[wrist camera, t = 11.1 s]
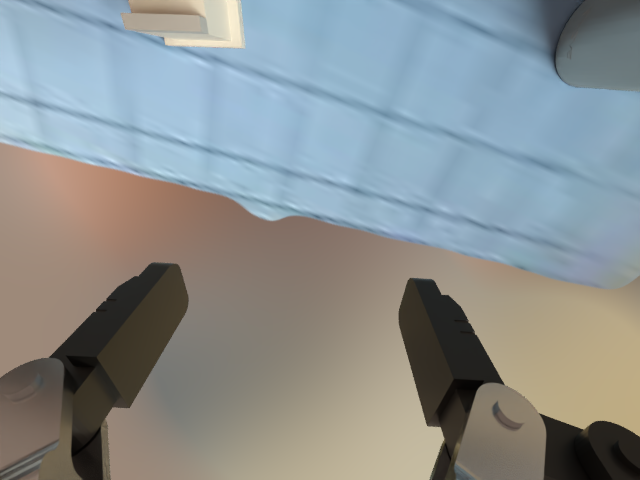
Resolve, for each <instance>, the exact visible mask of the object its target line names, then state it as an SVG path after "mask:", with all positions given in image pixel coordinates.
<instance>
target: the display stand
mask: <svg viewBox="0 0 640 480" xmlns="http://www.w3.org/2000/svg"><path fill="white" fill-rule="evenodd" d="M128 1H129V5H130V8H131V12H132V13H121V16H122V19H123V23H124V26H125V29H127V30H131V31H136V32H141V33H146V34H150V35H155V36H160V37H164V40H165V44H166V45H168V46H181V47H211V48H240V49H246V48H245V38H244V28H243V18H242V7H241V0H128Z"/></svg>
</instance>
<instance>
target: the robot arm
mask: <svg viewBox="0 0 640 480" xmlns="http://www.w3.org/2000/svg"><path fill="white" fill-rule="evenodd" d="M555 59H556V68H557V71H558V74H559V76H560V77H561V79H562V80H563V81H564V82H565V83H567V84H568V85H570V86H574V87H579V88H595V89H608V90H622V91H637V92H640V0H585V1H584V2H583V3H582V4H581V5H580V6H579V7H578V9H577V10H576V11H575V12H574V13H573V15H572V16H571V18H570V19H569V21H568V22H567V24H566V26H565V28H564V30H563V32H562V34H561V36H560V39H559V42H558V45H557V50H556V57H555ZM187 307H188V294H187V290H186V287H185V283H184V280H183V276H182V273H181V269H180V267H179V265H178V264H172V263H155V262H154V263H151V264H150V265H149V266H148V267H147V268H146V269H145V270H144V271H143V272H142V273H141V274H140V275H139V276H135V277H133V278H131V279H130V280H128V281H126V282H125V283H123V284H122V285H120V286H119V287H117V288H116V289H115V291H114V292H113V293H112V294H111V295H110V296H109V297H108V298H107V300H106V301H104V302H103V303H102V304H101V305H100V306H99V307H98V308H97V309H96V312H93V313H92V314H91V315H90V316H89V317H88V318H87V319H86V320H85V321H84V322H83V323H82V324H81V325H80V326H79V328H77V329H76V331H75V332H74V333H73V334H72V335H71V336H70V337H69V338H68V339H67V340H66V341H65V342H64V343H63V344H62V345H61V346H60V347H59V348H58V349H57V350H56V351H55V352H54V353H53V354H52V355H51V356H50V357H49V358H41V359H37V360H34V361H30V362H28V363H25V364H23V365H20V366H18V367H17V368H14V369H13V370H11V371H9V372H8V373H6V374H5V375H3V376H2V377H1V378H0V480H111V478H110V459H109V443H108V425H107V421H106V419H105V418H106V416H107V415H108V413H109V412H110V410H111V409H112V407H118V408H130V406H131V405H132V403H133V401H134V399H135V398H136V396H137V394H138V393H139V391H140V389H141V388H142V386H143V384H144V383H145V381H146V379H147V377H148V376H149V374H150V372H151V371H152V369H153V367H154V366H155V364H156V362H157V360H158V359H159V357H160V355H161V354H162V352H163V350H164V348H165V347H166V345H167V344H168V342H169V340H170V339H171V337H172V335H173V333H174V331H175V330H176V328H177V327H178V325H179V323H180V322H181V320H182V318H183V317H184V315H185V313H186V311H187ZM399 326H400V330H401V334H402V337H403V341H404V344H405V348H406V352H407V355H408V359H409V362H410V365H411V370H412V373H413V377H414V380H415V384H416V388H417V391H418V395H419V398H420V402H421V405H422V409H423V413H424V417H425V420H426V424H427V426H433V427H441V429H442V432H443V435H444V441H443V443H442V445H441V448H440V451H439V454H438V456H437V459H436V462H435V465H434V468H433V471H432V473H431V476H430V480H640V437H639V436H638V435H636V434H635V433H633V432H631V431H630V430H628V429H626V428H624V427H622V426H620V425H617V424H614V423H611V422H607V421H596V422H594V423H592V424H591V425H589V426H588V427H587V428H586V429H584V430H583V429H580V428H577V427H574V426H572V425H569V424H566V423H564V422H561V421H558V420H555V419H553V418H550V417H547V416H545V415H542V414H540V413H538V412H537V410H536V409H535V407H534V406H533V405H532V404H531V403H530V402H529V401H528V400H527V399H526V398H525V397H524V396H522V395H521V394H520V393H518V392H517V391H515V390H514V389H512V388H510V387H508V386H505V385H504V383H503V381H502V380H501V378H500V376H499V374H498V372H497V371H496V369H495V367H494V365H493V363H492V362H491V360H490V358H489V356H488V355H487V353H486V351H485V349H484V347H483V346H482V344H481V342H480V340H479V339H478V337H477V335H475V331H474V330H473V328H472V326H471V324H470V323H468V319H467V317H466V315H465V313H464V312H463V310H462V308H461V307H460V306H459V305H458V304H457V303H456V302H455V301H454V300H453V299H452V298H451V297H450V296H449V295H441V293H440V291H439V289H438V287H437V285H436V283H435V281H434V280H432V279H419V278H410V279H409V280H408V282H407V285H406V288H405V292H404V295H403V298H402V302H401V305H400V309H399Z"/></svg>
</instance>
